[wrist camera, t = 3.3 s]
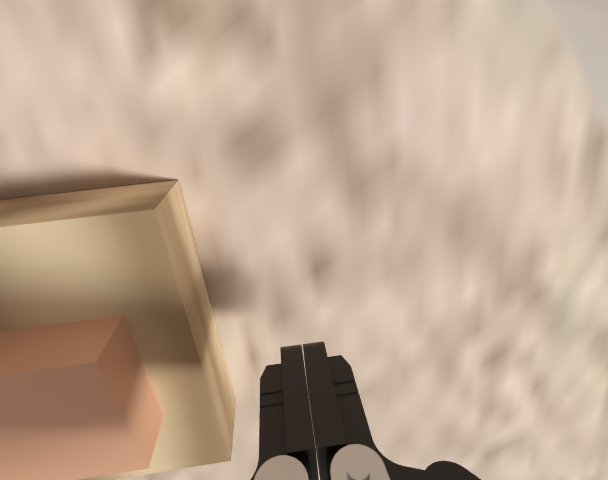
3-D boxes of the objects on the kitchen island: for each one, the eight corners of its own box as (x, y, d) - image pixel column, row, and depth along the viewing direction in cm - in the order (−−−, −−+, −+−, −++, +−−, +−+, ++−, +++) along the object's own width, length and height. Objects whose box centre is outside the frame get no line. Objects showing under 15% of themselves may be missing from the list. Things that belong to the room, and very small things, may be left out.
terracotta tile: (123, 315, 11) (95, 361, 9) (164, 415, 13) (148, 468, 12) (-37, 336, 11) (-96, 388, 9) (32, 435, 13) (-4, 492, 11)
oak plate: (178, 179, 12) (155, 209, 10) (235, 402, 18) (230, 460, 15) (-206, 222, 12) (-346, 267, 9) (-24, 441, 17) (-79, 510, 14)
